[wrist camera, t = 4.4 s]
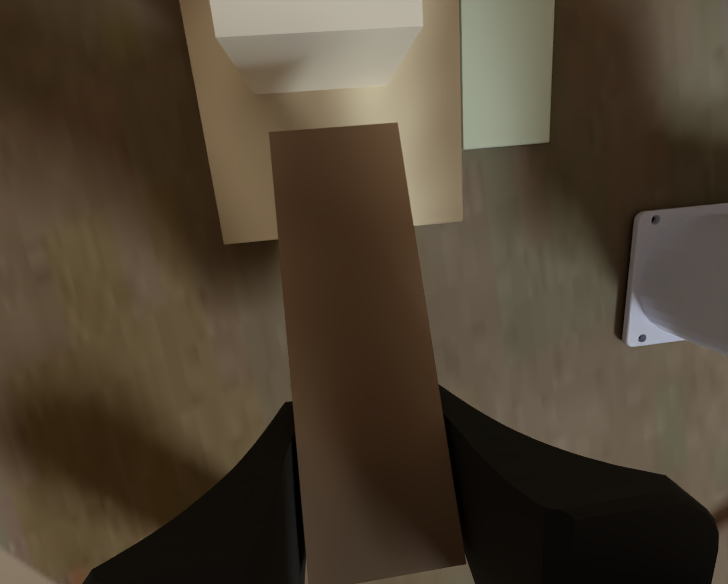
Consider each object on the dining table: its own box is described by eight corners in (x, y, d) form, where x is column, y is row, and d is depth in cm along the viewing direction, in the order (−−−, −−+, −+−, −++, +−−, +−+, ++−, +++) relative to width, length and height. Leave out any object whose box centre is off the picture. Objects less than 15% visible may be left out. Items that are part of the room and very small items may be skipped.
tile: (383, 32, 17) (419, -62, 11) (386, 85, 17) (422, 26, 11) (246, 40, 16) (200, -55, 10) (254, 94, 17) (215, 37, 11)
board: (448, -194, 16) (455, -214, 15) (457, 219, 20) (462, 221, 19) (149, -192, 15) (139, -214, 14) (228, 242, 19) (224, 244, 18)
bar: (376, 209, 16) (397, 122, 10) (414, 481, 14) (466, 564, 8) (294, 216, 16) (268, 131, 10) (321, 496, 14) (309, 591, 8)
